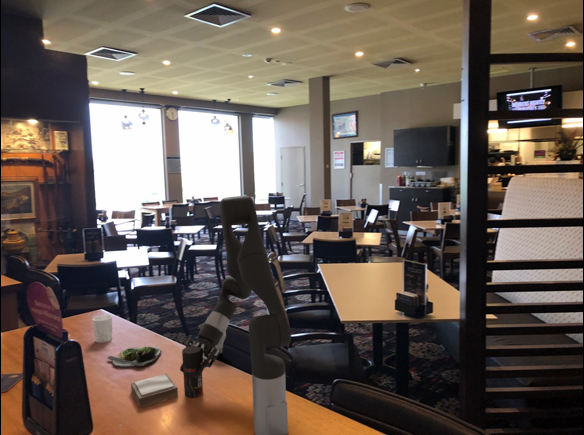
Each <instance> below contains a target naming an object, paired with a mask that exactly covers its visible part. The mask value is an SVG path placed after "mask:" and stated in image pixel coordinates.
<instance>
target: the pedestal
mask: <svg viewBox="0 0 584 435" xmlns="http://www.w3.org/2000/svg"><path fill="white" fill-rule="evenodd" d="M130 388H131V389H130V390H131V391H130V392H131V394H132V395H133V397H134V399H135V401H136V403H137V405H138V406H139V408H141V409H142V408H145V407H148V406H150V405H153V404H154V405H155V404H157V403H161V402H164V401H168V400H171V399H174V398H177V397H178V396H179V391H178V387H177V385H176V383H175V382H174V381H173V380H172V378H171V377H170V376H169V374H167V373H163V374H159V375H156V376H151V377H148V378H145V379H141V380H137V381H134V382H131V383H130Z"/></svg>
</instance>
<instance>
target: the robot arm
mask: <svg viewBox="0 0 584 435" xmlns="http://www.w3.org/2000/svg"><path fill="white" fill-rule="evenodd" d="M219 210H220V211H219V212H220V221H221V227H222V235H223V241H224V246H225V252H226V272H227V274H228V276H227V277H225V278H224V280H223V282H222V284H221V285H222V286H221V290H220V294H219V297H218V299H217V302H216V304H215V306H214V307H213V309H212V311H211V313H210V314H209V315H208V316H207V318H206V320H205V322H204V323H203V325H202V327H201V329H200V330H199V332H198V337H197V339H196V340H192V339H189V340H188V342H187V343H186V345H185V348H186V347H190V346H198V347H200V348H201V357H200V358H201V359H200V363H199V364H200V365H198V366H197V368H196V370H195V372H194V373H193V376H194V377H195V378H199V377H200V375H201V373H202V374H203V371H205V369H206V368H209V369H210V368H211V367H212V366H213V365H214V363H215V362H216V360H217V359H218V357H219V355H220V354H221V353H220V351H219V350H217V349H216V348H215V345H218V343H219V342H220V340H221V338H222V336H223V334H224V332H225V331H226V330H228V327H229V324H230V321H232V318H233V316H234V314H235V312H236V310H237V306H236V304H235V302H233V301H232V300H230V296H231V297H234V298H236V299H239V300H246V299H248V298H249V297H250V296H251V294H252V293H254V294H255V295H256V296H257V297H258V298H259V299H260V300H261V302H263V303H264V305H265V307H266V309H267V310H268V313H269V314H263V315H257V316H252V317H251V318H250V320H249V323H248V339H249V348H250V349H249V350H250V363H251V382H252V384H251V386H252V408H253V409H252V411H253V414H252V415H253V432H254V434H255V435H289V427H288V426H289V425H288V424H289V422H288V418H289V417H288V401H287V392H286V391H287V389H286V388H287V387H286V363H285V361H284V359H283V358H282V357H279V356H277V355H273V354H268V353H266V351H269V350H273V349H279V348H284V347H288V345H290V343H291V341H292V340H291V339H292V333H291V328H290V327H291V326H290V323H289V320H288V317H287V315H286V312H285V309H284V307H283V304H282V302H281V298H280V295H279V293H278V290H277V286H276V283H275V279H274V275H273V272H272V267H271V263H270V260H269V256H268V254H267V251H266V247H265V244H264V240H263V237H262V232H261V229H260V224H259V220H258V214H257V211H256V210H257V209H256V206H255V202H254V200H253V197H251V196H250V195H238V196H236V195H235V196H228V197H223V198H222V199H221V200H220V205H219ZM245 224H246V225H247V230H246V231H247V232H246V236H245V238H244V241H243V242H241V241H240V240H239V239H238V238H237V237H236V235H235V232H234V231H233V227H232V226H235V225H236V226H237V225H245ZM179 371H180V372H182V373H183V362H182V364H181V365H180V367H179Z"/></svg>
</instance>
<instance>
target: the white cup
mask: <svg viewBox="0 0 584 435" xmlns="http://www.w3.org/2000/svg"><path fill="white" fill-rule="evenodd" d="M92 327H93V336H94V338H95V339H94V341H95V342H96V343H99V344H100V343H101V344H102V343H107V342H110V341H111V340H113V316H112V315H111V314H100V315H97V316H94V317H93V318H92Z"/></svg>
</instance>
